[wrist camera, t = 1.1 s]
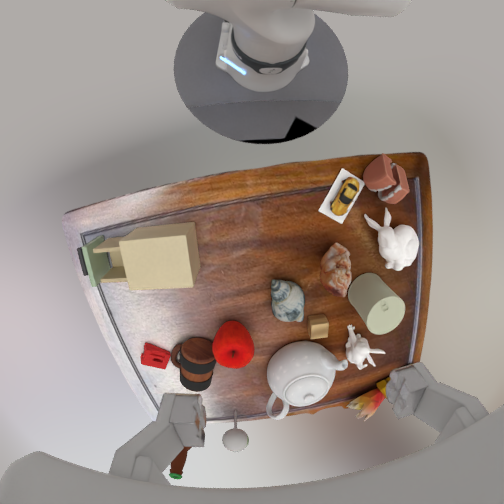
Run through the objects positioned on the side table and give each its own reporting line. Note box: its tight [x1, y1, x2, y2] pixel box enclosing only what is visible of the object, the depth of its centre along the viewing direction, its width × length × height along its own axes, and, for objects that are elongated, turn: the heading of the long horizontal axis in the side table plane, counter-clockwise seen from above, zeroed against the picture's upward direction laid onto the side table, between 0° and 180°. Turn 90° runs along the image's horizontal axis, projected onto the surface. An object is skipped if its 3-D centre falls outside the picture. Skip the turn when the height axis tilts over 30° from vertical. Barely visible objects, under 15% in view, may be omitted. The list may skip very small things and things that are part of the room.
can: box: [348, 273, 405, 334], centre depth 55 cm, size 9×9×12 cm
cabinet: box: [119, 222, 201, 290], centre depth 51 cm, size 13×10×10 cm
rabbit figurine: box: [345, 324, 385, 370], centre depth 62 cm, size 12×8×10 cm, turn 3°
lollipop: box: [222, 410, 249, 452], centre depth 66 cm, size 7×7×15 cm
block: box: [307, 314, 329, 339], centre depth 62 cm, size 4×4×4 cm
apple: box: [212, 321, 254, 369], centre depth 58 cm, size 9×9×11 cm
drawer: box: [77, 235, 128, 287], centre depth 51 cm, size 15×8×8 cm, turn 94°
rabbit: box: [364, 208, 419, 271], centre depth 53 cm, size 12×9×12 cm
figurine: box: [320, 243, 351, 297], centre depth 51 cm, size 6×8×15 cm
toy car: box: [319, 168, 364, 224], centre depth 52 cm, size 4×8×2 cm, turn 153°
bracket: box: [141, 343, 171, 369], centre depth 64 cm, size 6×5×3 cm
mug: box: [171, 338, 216, 392], centre depth 62 cm, size 9×12×12 cm
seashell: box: [271, 279, 305, 322], centre depth 58 cm, size 6×8×12 cm
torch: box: [346, 364, 411, 421], centre depth 70 cm, size 8×8×25 cm
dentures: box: [363, 154, 409, 204], centre depth 49 cm, size 9×7×8 cm
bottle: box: [169, 447, 191, 479], centre depth 61 cm, size 7×7×25 cm
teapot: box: [266, 341, 348, 420], centre depth 61 cm, size 19×18×14 cm
